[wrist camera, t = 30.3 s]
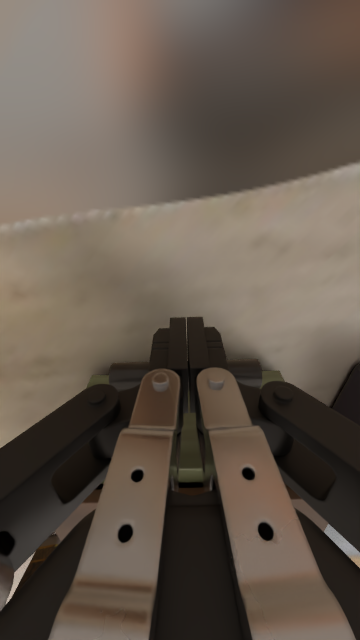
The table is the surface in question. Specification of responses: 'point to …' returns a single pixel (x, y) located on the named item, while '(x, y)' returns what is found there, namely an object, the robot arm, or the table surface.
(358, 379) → the calculator
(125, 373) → the drawer
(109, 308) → the table surface
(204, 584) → the robot arm
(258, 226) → the table surface
